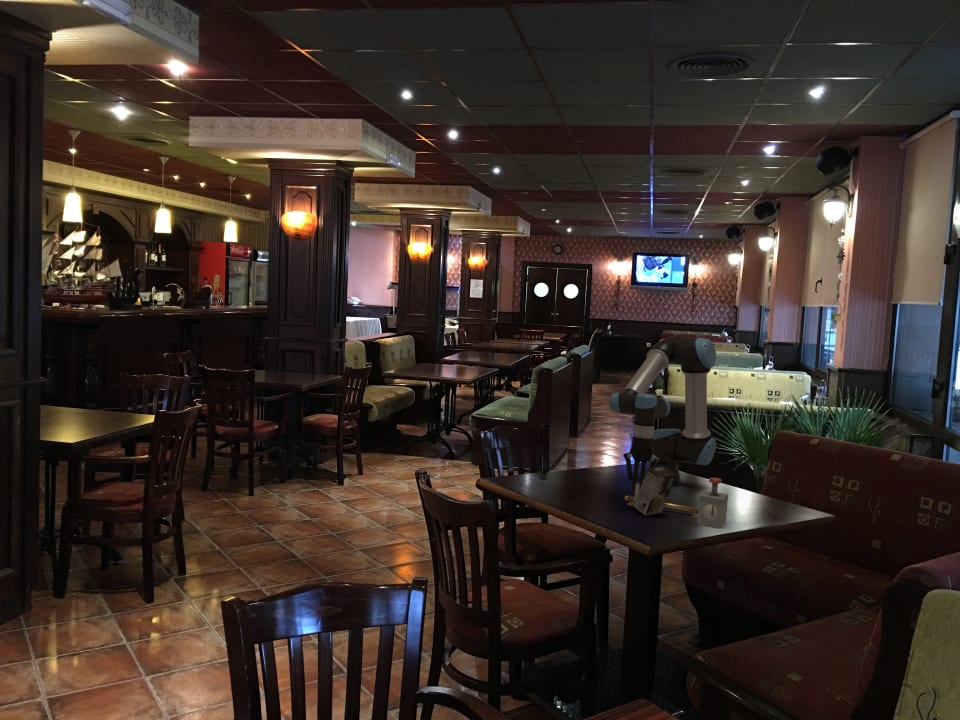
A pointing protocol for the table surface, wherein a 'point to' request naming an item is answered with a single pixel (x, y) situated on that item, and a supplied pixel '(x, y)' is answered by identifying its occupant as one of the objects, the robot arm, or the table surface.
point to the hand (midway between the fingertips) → (637, 500)
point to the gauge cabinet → (712, 509)
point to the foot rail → (668, 506)
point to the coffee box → (654, 490)
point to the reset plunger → (714, 484)
